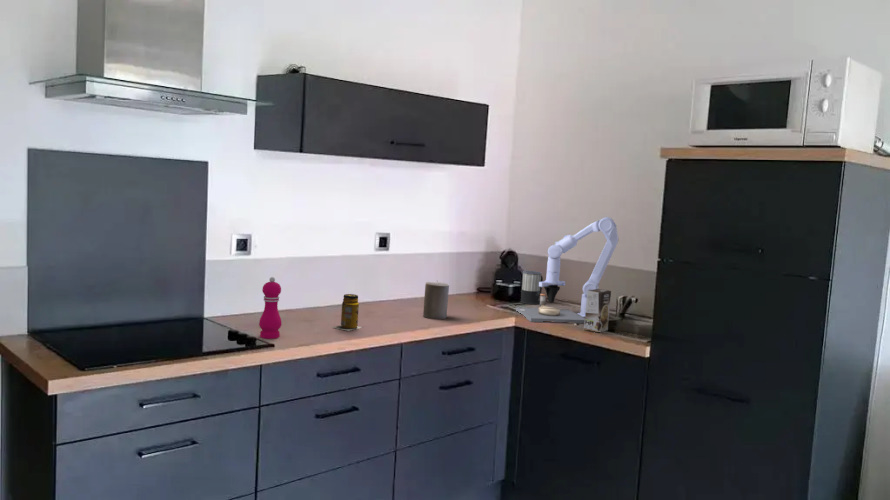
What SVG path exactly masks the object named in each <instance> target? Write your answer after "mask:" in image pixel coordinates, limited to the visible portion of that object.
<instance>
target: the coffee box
mask: <svg viewBox="0 0 890 500" xmlns="http://www.w3.org/2000/svg"><path fill="white" fill-rule="evenodd" d="M611 295H612V290H610V289H609V290H608V289H601V288H600V289H594V290H588V292H587V302H586V313H585V317H584V319H585V324H584V326H583V329H584V328H587V329H592V330H596V331H602V332H601V333H603V332H606V331H608V330H609V320H610V319H609V318H610V307H611V297H612V296H611Z"/></svg>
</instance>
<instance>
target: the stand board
mask: <svg viewBox="0 0 890 500" xmlns="http://www.w3.org/2000/svg"><path fill="white" fill-rule="evenodd" d="M559 309H560V315H544V314H540V313H538V311H539V307H515V311H516V312H517V311H518V312H519V313H521V314H523V315H524V316H525V317H526V318H525V317H524V316H523V317H524V318H525V319H526V320H528V322H531V323H544V322H543V321H554V322H574V323H573V324H580V323H584V324H585V317H582V316H580V315H578V314H577V313H575V312H574V311H572V310H570V309H567V308H565V309H564V308H559ZM518 312H517V313H518ZM519 313H518V314H519ZM521 314H520V315H521Z"/></svg>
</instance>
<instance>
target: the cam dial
mask: <svg viewBox="0 0 890 500" xmlns="http://www.w3.org/2000/svg"><path fill="white" fill-rule="evenodd" d="M546 299H547V293H541V294H540V304H539V307H538V308H539V311H538V313H540V314H544V315H560V309H561V308H558V307H552V306H547V305H546V301H547V300H546Z"/></svg>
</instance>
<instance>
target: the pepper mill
mask: <svg viewBox="0 0 890 500" xmlns="http://www.w3.org/2000/svg"><path fill="white" fill-rule="evenodd" d="M261 289H262V293H263V295H264V296H263V301H264V309H263V312H262V313H261V316H260V319H259V322H258V323H259V324H258V327H259V328H260V329H261V330H260V334H259V336H260V338H261V339H264V340H272V339H278V338H280V337H281V333H280V331H279V330H280V328H281V327H282V317H281V315H280V312H279V308H278V306H279V305H278V304H279V301H280V296H279V295H280V294H281V292H282V287H281V285H280V283H278V282H276V279H275V277H274V276H272V277H270V278H269V281H268V282H265V283H264V284H263V286H262V288H261Z"/></svg>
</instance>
